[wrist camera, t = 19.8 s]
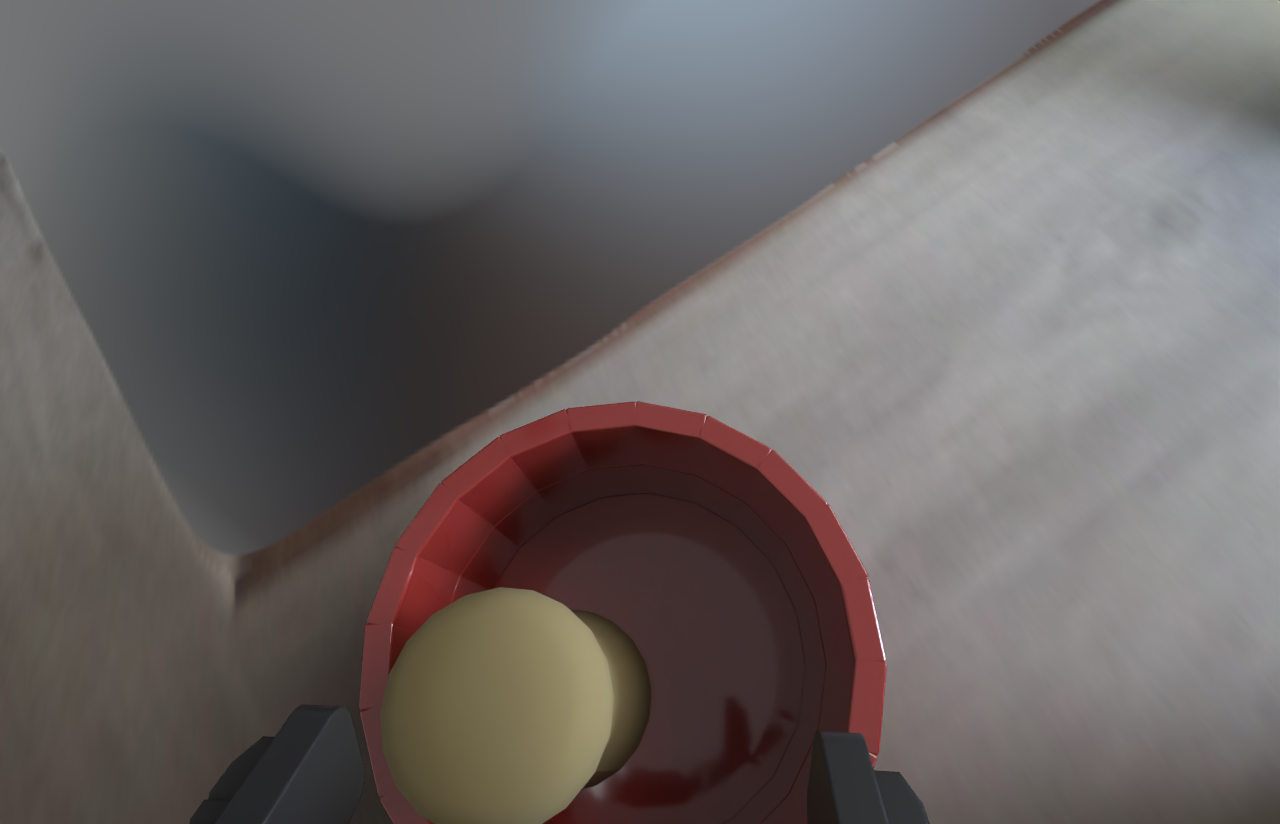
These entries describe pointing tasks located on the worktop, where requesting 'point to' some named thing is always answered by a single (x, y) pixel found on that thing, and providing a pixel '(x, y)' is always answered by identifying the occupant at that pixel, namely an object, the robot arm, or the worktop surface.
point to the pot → (658, 602)
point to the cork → (511, 708)
